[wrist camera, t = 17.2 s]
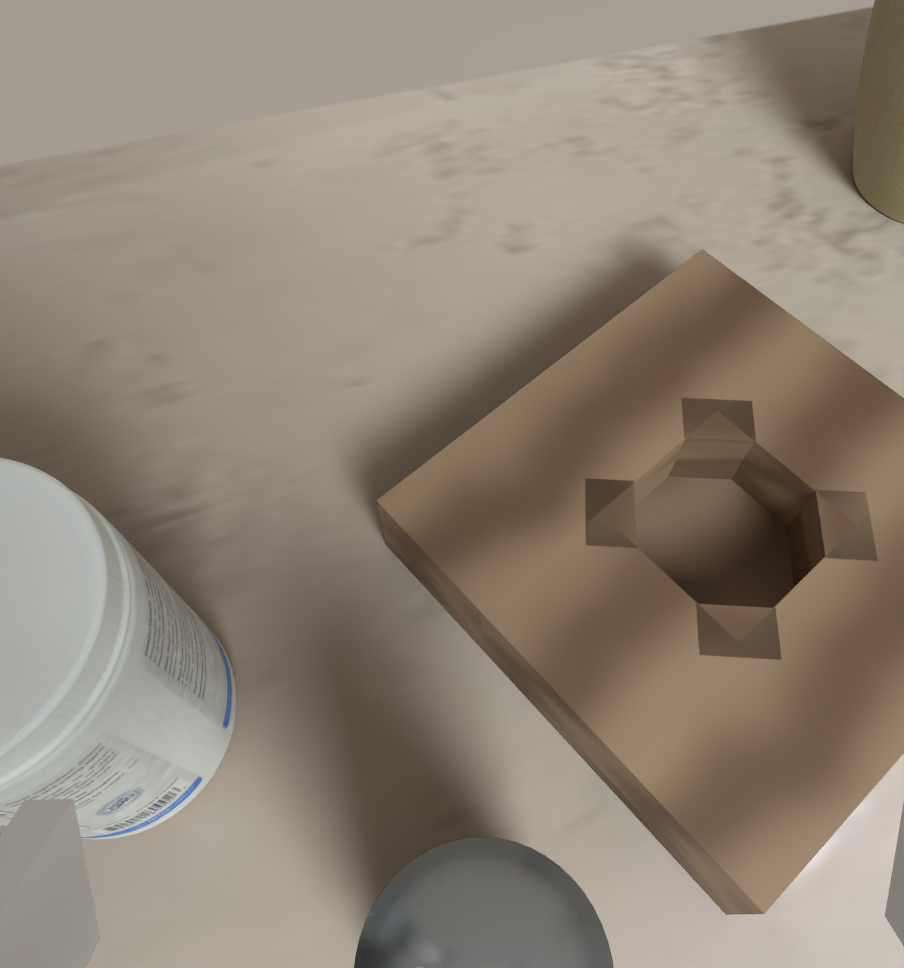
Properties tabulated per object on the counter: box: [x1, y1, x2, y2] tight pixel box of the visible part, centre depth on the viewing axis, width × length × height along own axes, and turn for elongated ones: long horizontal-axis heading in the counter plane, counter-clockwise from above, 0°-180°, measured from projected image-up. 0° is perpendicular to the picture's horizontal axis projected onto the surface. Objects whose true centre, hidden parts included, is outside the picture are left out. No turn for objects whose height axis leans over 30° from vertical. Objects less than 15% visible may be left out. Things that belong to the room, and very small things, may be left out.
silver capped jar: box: [354, 837, 613, 968], centre depth 25 cm, size 6×6×13 cm
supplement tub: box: [0, 458, 236, 839], centre depth 29 cm, size 10×10×15 cm
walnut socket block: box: [376, 249, 904, 915], centre depth 36 cm, size 20×20×4 cm
